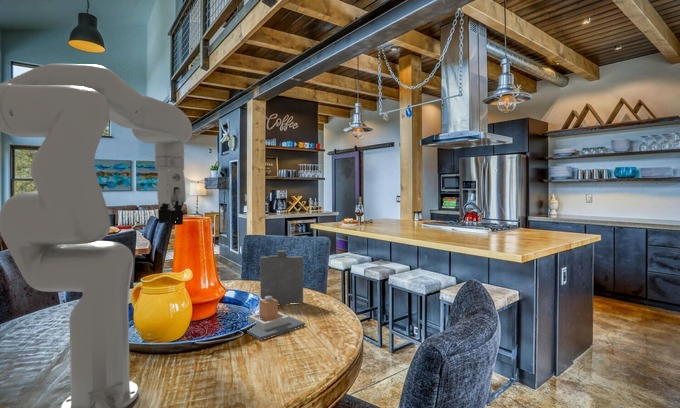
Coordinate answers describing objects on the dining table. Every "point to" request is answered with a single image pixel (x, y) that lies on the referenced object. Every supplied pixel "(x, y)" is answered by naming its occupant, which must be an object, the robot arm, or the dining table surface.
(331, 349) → the dining table surface
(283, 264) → the hip flask
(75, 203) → the robot arm
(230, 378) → the dining table surface
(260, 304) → the connector plug
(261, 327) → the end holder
